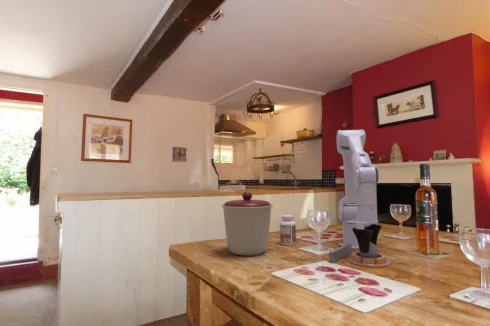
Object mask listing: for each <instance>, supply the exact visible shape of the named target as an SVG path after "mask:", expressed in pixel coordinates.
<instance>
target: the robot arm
mask: <svg viewBox="0 0 490 326" xmlns="http://www.w3.org/2000/svg"><path fill="white" fill-rule="evenodd" d="M366 137H367V135H366V131H365V129H346V130H341V129H339V130H337V132H336V149H337V153H338V154H340V155H341V156H342V161H343V176H344V192H345V194H344V195H345V196H344V197H343V198H341V199H340V200H339V202H338V207H337V214H338V220H339V221H340V222H342V241H343V242H341V243H338V244H337V245H338V246H340V247H341V246H343V245H346V244H348V243H349V244H351V248H352V249H353V250H355V249H356V250H359V249H360V252H361V253H368V252H369V246H370V242H372V243H373V244H375V245H376V246H377V242H378V237H379V234H380V231H381V230H382V225H381V224H378V223H379V219H378V202H377V200H378V199H377V198H378V197H377V185H378V184H379V180H380V179H379V177H380V176H379V175H380V174H379V169H378V166H377V165H375V164H372V161H371V158H370V155H369V154H368V152H366V151H364V147H365V143H366Z"/></svg>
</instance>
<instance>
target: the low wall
mask: <svg viewBox="0 0 490 326" xmlns="http://www.w3.org/2000/svg"><path fill="white" fill-rule="evenodd" d="M352 252H353V251H352V248H351V244H349V243H348V244H346V245H343V246H341V245H340V247H338V248H335V249H334V250H331V251H329V252H328V261H329V262H328V263H331V264H334V263H336V262H338V261H339V260H341V259H343V258H345V257H346V256H348V255H350V254H352Z"/></svg>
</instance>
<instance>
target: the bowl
mask: <svg viewBox="0 0 490 326" xmlns="http://www.w3.org/2000/svg"><path fill="white" fill-rule="evenodd" d="M350 254H351V255H350V256H348V257H347V262H349V264H352V265H355V266H359V267H366V268H386V267H389V266H390V265H391V261H390V260H389V259H387V256H386V254H383V253H380V252H378V255H377V257H376V258H364V257H361V256H360V254H359V250H358V251H352V253H350Z"/></svg>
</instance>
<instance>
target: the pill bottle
mask: <svg viewBox="0 0 490 326" xmlns="http://www.w3.org/2000/svg"><path fill="white" fill-rule="evenodd" d="M294 219H295V217H294V215H293V214H292V215H291V214H282V215H281V221H280V222H279V232H280V233H279V239H280V240H279V241H280V245H283V246H294V245H296V244H297V228H296V227H297V226H296V222H295V221H294Z"/></svg>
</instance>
